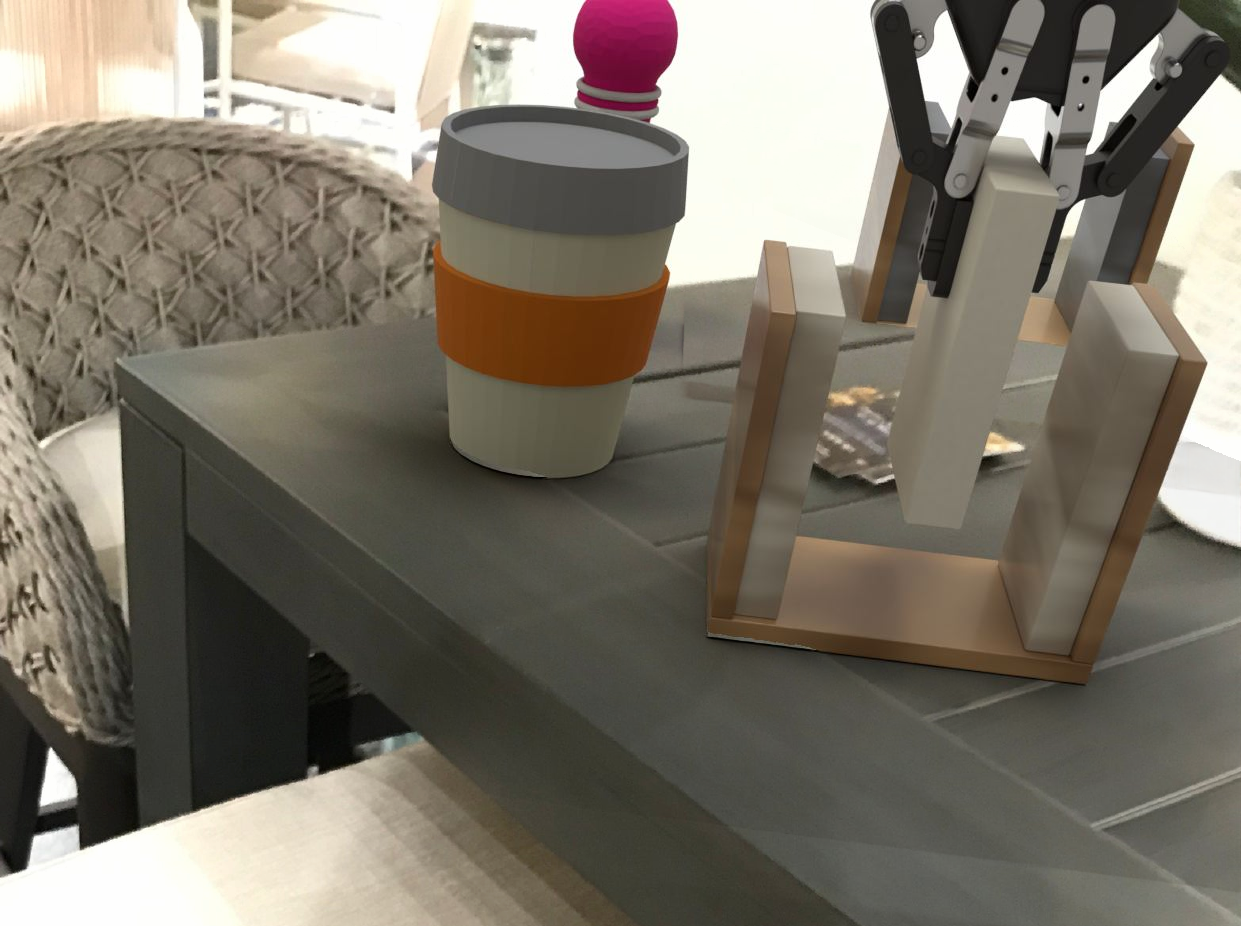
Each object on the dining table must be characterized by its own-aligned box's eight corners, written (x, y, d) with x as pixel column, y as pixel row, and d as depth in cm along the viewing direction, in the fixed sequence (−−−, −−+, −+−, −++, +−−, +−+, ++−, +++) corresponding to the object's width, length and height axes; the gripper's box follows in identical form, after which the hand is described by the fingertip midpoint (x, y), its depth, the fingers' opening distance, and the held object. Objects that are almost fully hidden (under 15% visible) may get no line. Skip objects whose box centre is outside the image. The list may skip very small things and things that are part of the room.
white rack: (1050, 586, 79) (1155, 284, 70) (1086, 685, 72) (1208, 362, 63) (706, 543, 80) (764, 238, 71) (706, 637, 73) (771, 310, 63)
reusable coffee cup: (677, 434, 91) (728, 134, 81) (597, 512, 82) (644, 186, 72) (473, 385, 94) (498, 90, 84) (376, 455, 85) (390, 135, 75)
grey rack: (1091, 318, 113) (1160, 107, 104) (1119, 367, 105) (1195, 144, 96) (847, 290, 113) (895, 77, 105) (857, 336, 106) (910, 112, 97)
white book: (937, 450, 75) (1024, 138, 67) (961, 530, 69) (1061, 195, 60) (886, 444, 75) (966, 131, 67) (904, 524, 69) (996, 187, 60)
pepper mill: (664, 325, 104) (722, -45, 91) (611, 353, 100) (665, -33, 86) (567, 298, 107) (610, -66, 94) (511, 324, 102) (548, -55, 89)
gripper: (928, -254, 53) (810, 305, 64) (1361, -210, 52) (1163, 346, 64) (907, -265, 58) (801, 251, 70) (1297, -225, 58) (1126, 288, 69)
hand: (975, 294), depth 67 cm, fingers closed on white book, 2 cm apart
